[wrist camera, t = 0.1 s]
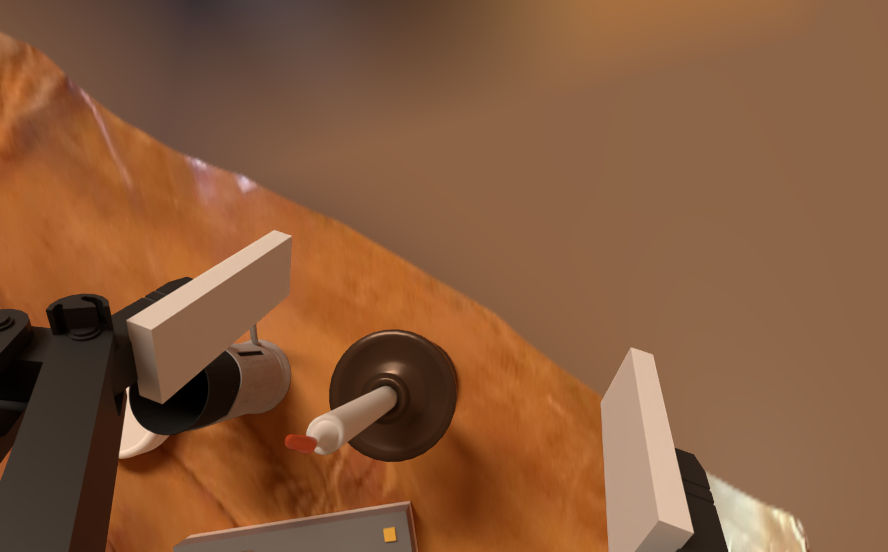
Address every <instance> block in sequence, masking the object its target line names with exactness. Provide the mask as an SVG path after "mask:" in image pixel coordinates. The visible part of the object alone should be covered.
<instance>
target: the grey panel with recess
mask: <svg viewBox="0 0 888 552" xmlns="http://www.w3.org/2000/svg"><path fill="white" fill-rule="evenodd" d="M173 551H174V552H418V546H417V539H416V533H415V526H414V520H413V513H412V507H411V501H405V502H399V503H393V504H386V505H380V506H373V507H367V508H361V509H354V510H348V511H341V512H335V513H329V514H322V515H316V516H310V517H303V518H297V519H290V520H284V521H278V522H271V523H265V524H258V525H252V526H246V527H239V528H233V529H226V530H220V531H214V532H207V533H201V534H194V535H190V536H189V537H187V538H186V539H184V540H183V541H181V542H180V543H178V544H177V545H175V546H174V547H173Z"/></svg>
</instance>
